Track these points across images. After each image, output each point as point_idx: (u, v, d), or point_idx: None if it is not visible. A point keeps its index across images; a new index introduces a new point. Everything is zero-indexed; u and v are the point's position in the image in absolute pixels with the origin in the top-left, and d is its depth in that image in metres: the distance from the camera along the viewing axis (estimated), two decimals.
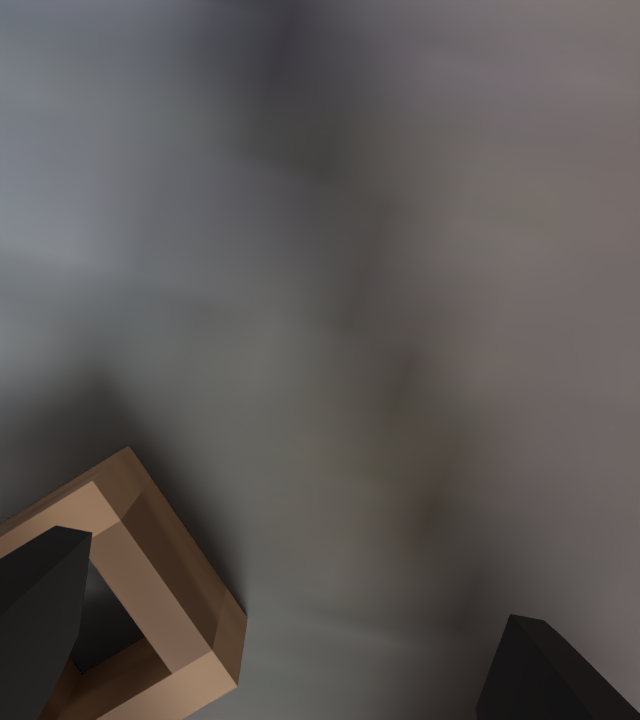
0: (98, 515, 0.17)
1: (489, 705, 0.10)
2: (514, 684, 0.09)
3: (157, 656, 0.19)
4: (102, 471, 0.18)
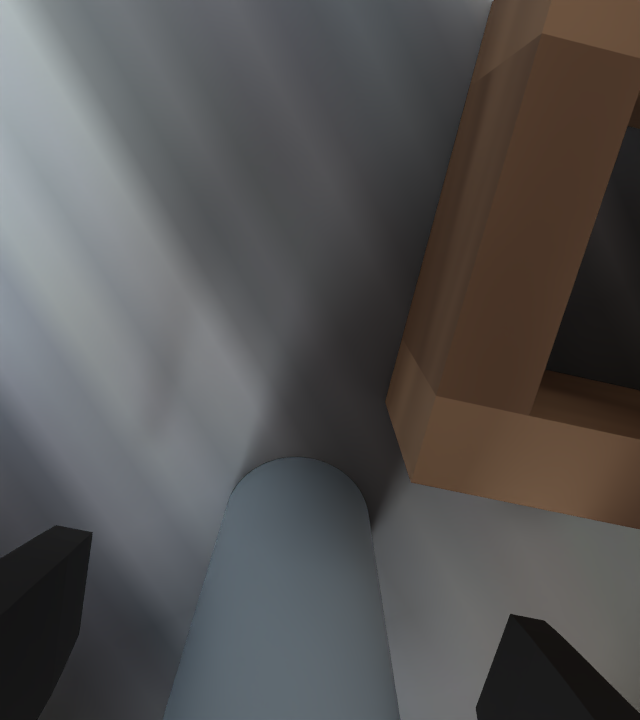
0: None
1: (489, 705, 0.10)
2: (514, 684, 0.09)
3: None
4: None
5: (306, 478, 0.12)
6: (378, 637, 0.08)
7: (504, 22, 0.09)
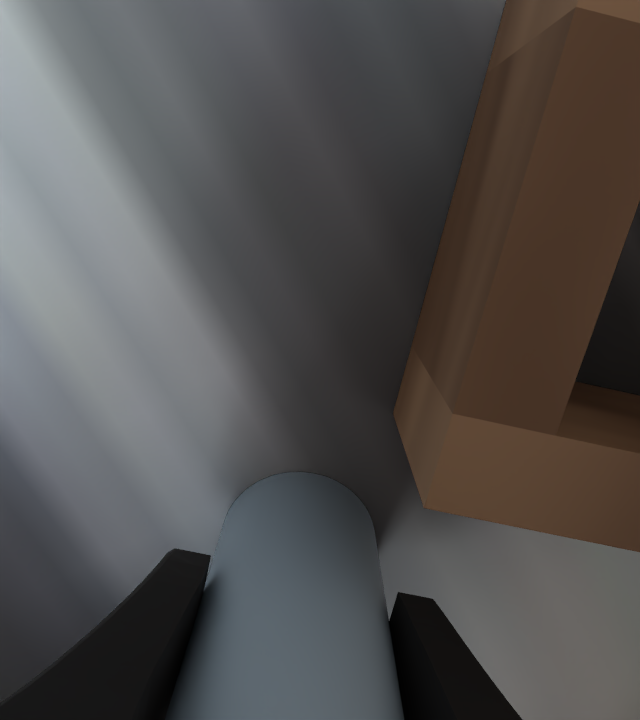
0: None
1: None
2: None
3: None
4: None
5: (308, 496, 0.11)
6: (388, 680, 0.08)
7: (527, 0, 0.08)
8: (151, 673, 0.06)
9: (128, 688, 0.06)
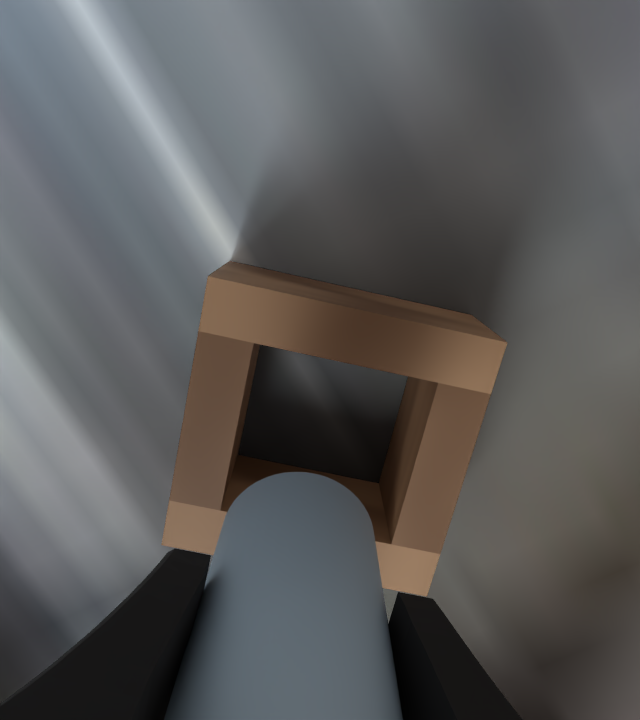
0: (479, 374, 0.15)
1: None
2: (394, 661, 0.09)
3: None
4: (496, 335, 0.16)
5: (309, 496, 0.11)
6: (387, 680, 0.08)
7: None
8: (151, 673, 0.06)
9: (128, 688, 0.06)
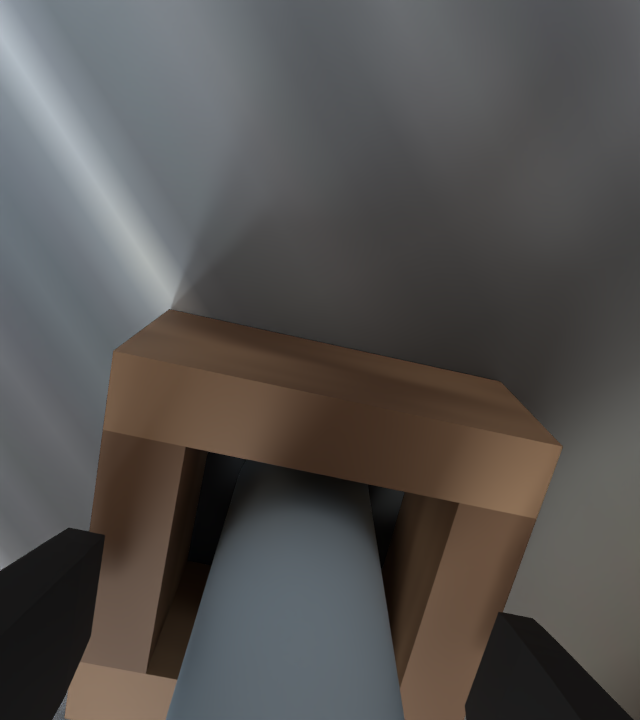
0: (519, 490, 0.10)
1: (477, 703, 0.10)
2: (501, 682, 0.09)
3: None
4: (542, 427, 0.11)
5: None
6: (376, 584, 0.10)
7: None
8: None
9: None
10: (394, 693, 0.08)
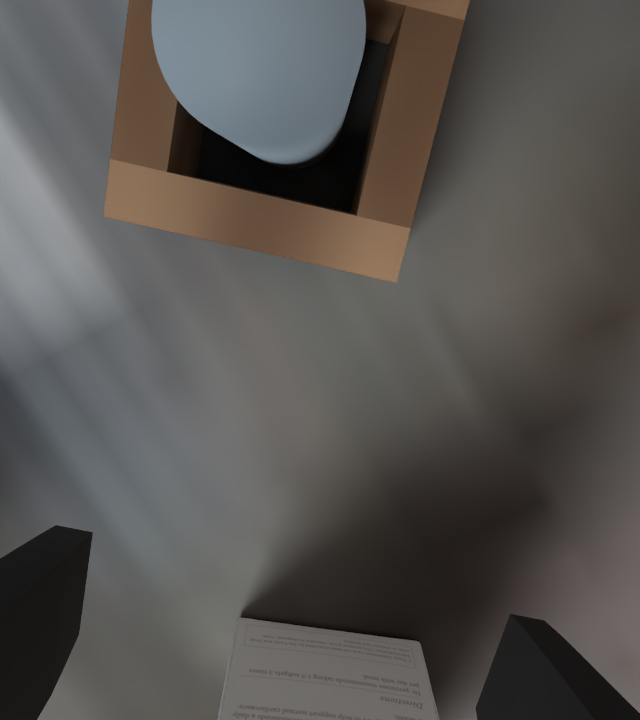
0: None
1: (489, 705, 0.10)
2: (514, 684, 0.09)
3: None
4: None
5: None
6: None
7: None
8: None
9: None
10: None
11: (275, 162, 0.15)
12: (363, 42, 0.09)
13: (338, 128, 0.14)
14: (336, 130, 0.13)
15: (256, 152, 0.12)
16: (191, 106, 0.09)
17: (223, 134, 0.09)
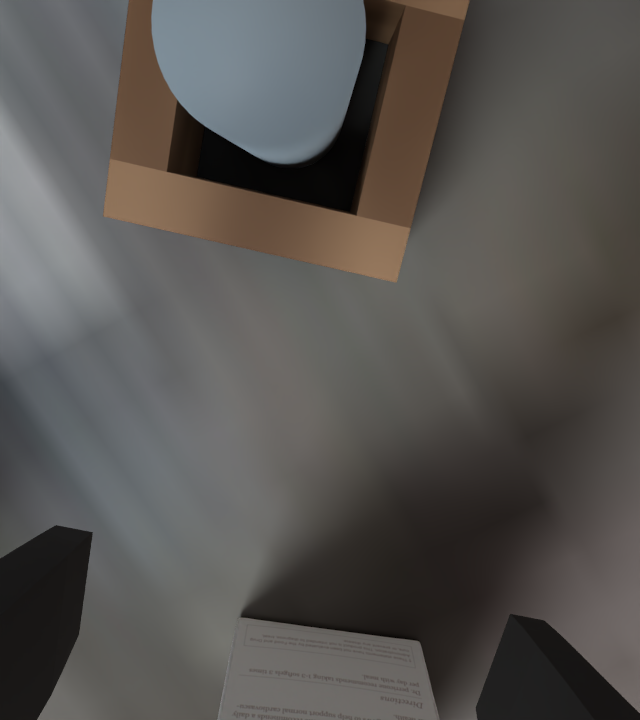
0: None
1: (489, 705, 0.10)
2: (514, 684, 0.09)
3: (318, 205, 0.16)
4: None
5: None
6: None
7: None
8: None
9: None
10: None
11: (275, 162, 0.15)
12: (363, 42, 0.09)
13: (338, 128, 0.14)
14: (336, 130, 0.13)
15: (256, 152, 0.12)
16: (191, 106, 0.09)
17: (223, 134, 0.09)
